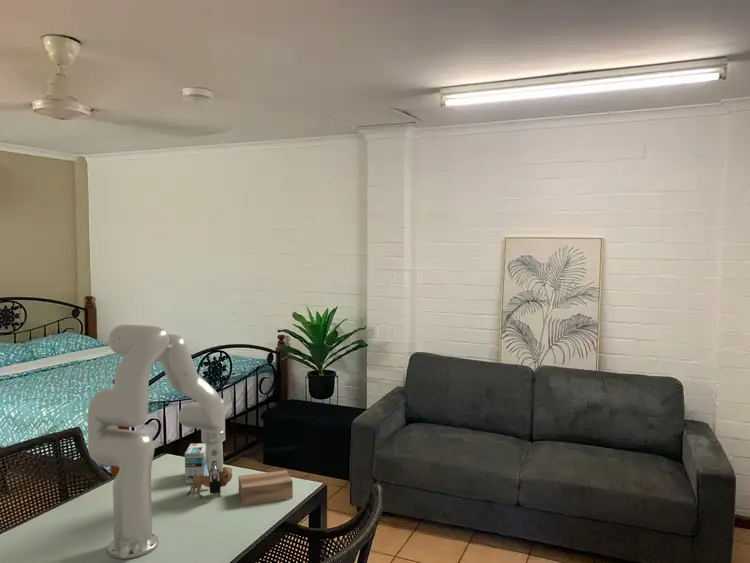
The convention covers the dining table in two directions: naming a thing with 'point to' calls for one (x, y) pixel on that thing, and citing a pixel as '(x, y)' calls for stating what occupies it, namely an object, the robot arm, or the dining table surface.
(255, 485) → the walnut block
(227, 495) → the dining table surface
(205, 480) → the lion figurine
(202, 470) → the light bulb box
